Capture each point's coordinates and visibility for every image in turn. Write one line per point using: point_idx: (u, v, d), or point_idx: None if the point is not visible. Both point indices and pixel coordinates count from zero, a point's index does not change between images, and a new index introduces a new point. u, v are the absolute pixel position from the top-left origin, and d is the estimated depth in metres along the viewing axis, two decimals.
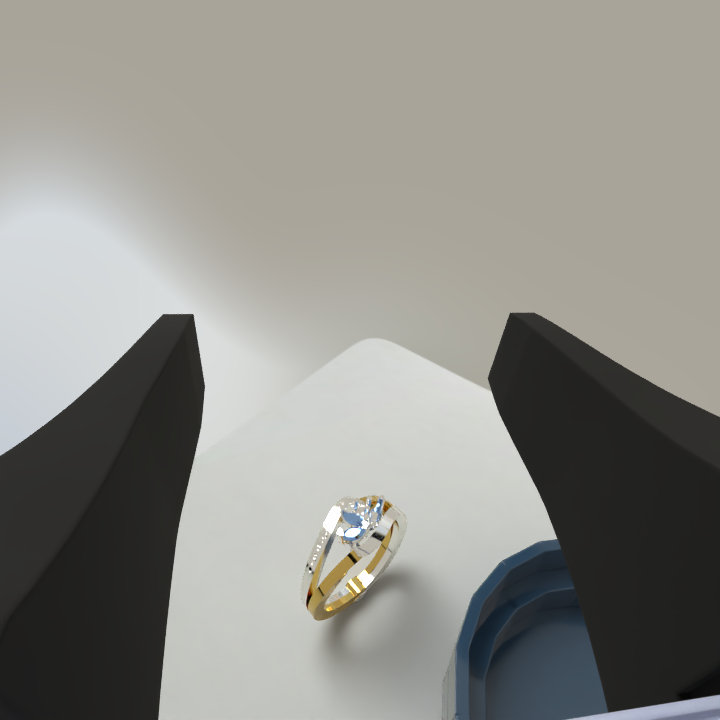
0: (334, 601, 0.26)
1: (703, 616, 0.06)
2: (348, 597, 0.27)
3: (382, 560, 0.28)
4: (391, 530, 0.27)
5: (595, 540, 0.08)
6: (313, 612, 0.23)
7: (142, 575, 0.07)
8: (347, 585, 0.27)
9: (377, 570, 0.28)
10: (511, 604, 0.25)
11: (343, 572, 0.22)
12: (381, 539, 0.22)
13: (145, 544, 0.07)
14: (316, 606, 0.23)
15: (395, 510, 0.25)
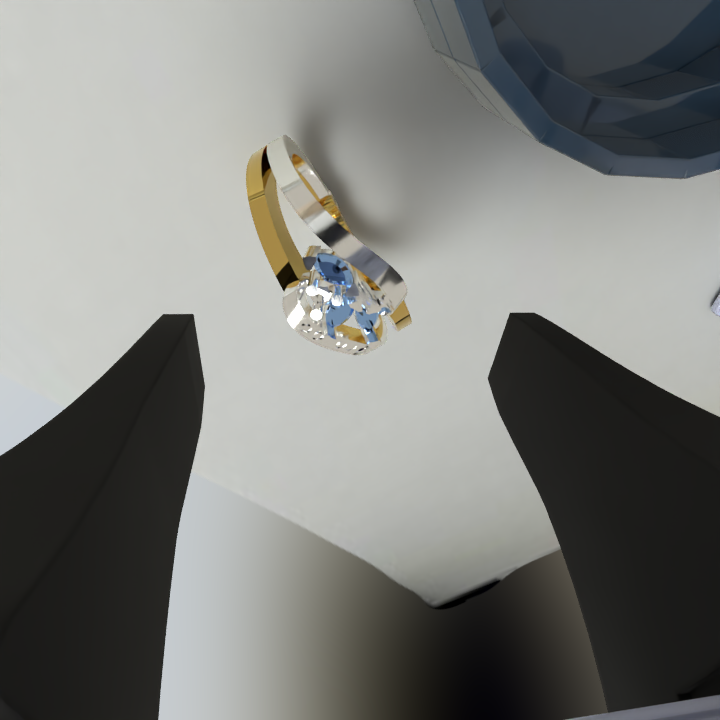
0: None
1: (703, 616, 0.06)
2: (341, 225, 0.18)
3: (300, 167, 0.16)
4: None
5: (595, 540, 0.08)
6: None
7: (142, 575, 0.07)
8: None
9: (310, 175, 0.16)
10: None
11: (407, 315, 0.14)
12: (392, 271, 0.12)
13: (145, 544, 0.07)
14: None
15: (313, 214, 0.11)
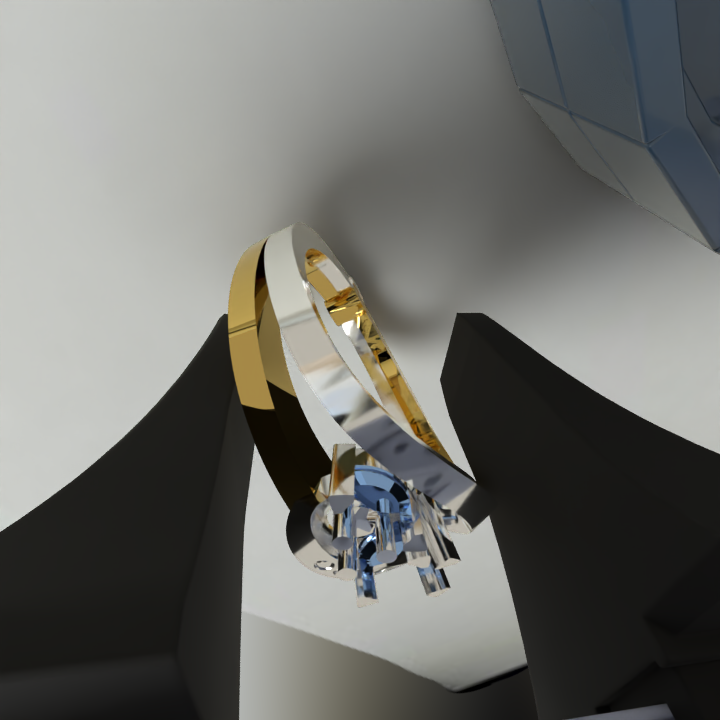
0: (375, 358, 0.13)
1: (616, 627, 0.06)
2: (366, 326, 0.13)
3: (313, 258, 0.10)
4: None
5: (528, 546, 0.08)
6: None
7: (231, 567, 0.07)
8: (341, 324, 0.12)
9: (327, 265, 0.11)
10: None
11: None
12: (480, 492, 0.07)
13: (232, 537, 0.07)
14: None
15: (348, 403, 0.06)
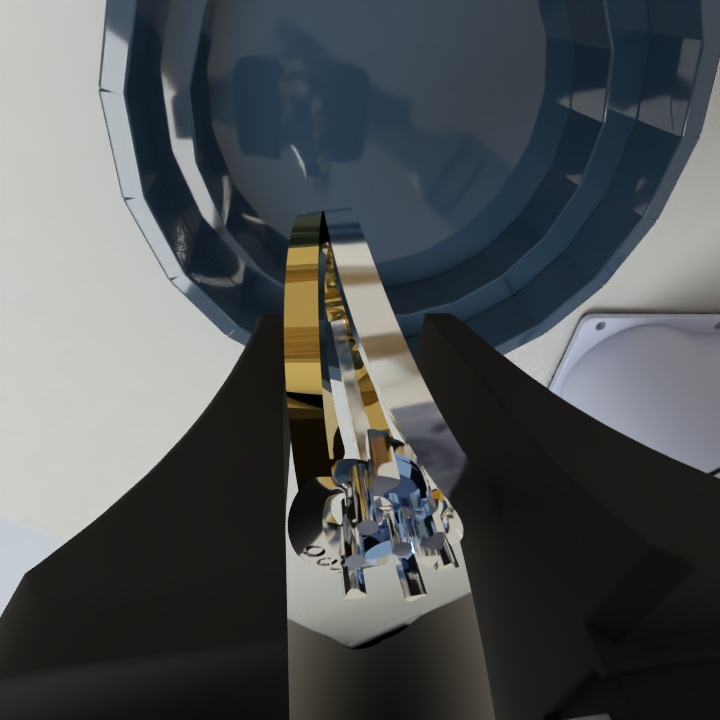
0: (353, 363, 0.13)
1: (561, 634, 0.06)
2: None
3: None
4: (326, 250, 0.08)
5: (487, 550, 0.08)
6: None
7: None
8: (331, 320, 0.12)
9: None
10: (216, 234, 0.16)
11: None
12: (488, 504, 0.07)
13: None
14: None
15: (404, 389, 0.06)
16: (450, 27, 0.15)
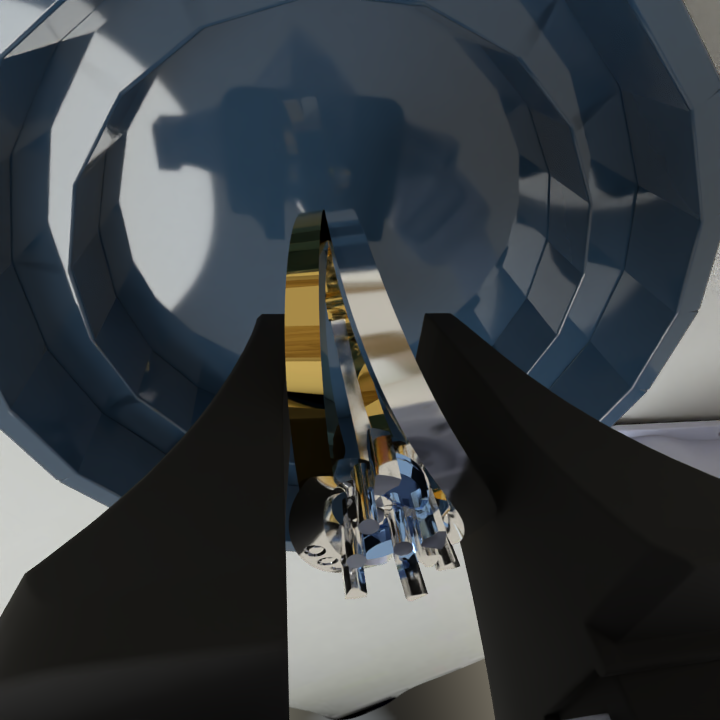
0: (353, 363, 0.13)
1: (562, 634, 0.06)
2: None
3: None
4: (327, 249, 0.08)
5: (487, 550, 0.08)
6: None
7: None
8: (331, 320, 0.12)
9: None
10: (127, 403, 0.13)
11: None
12: (489, 503, 0.07)
13: None
14: None
15: (405, 388, 0.06)
16: (398, 166, 0.12)
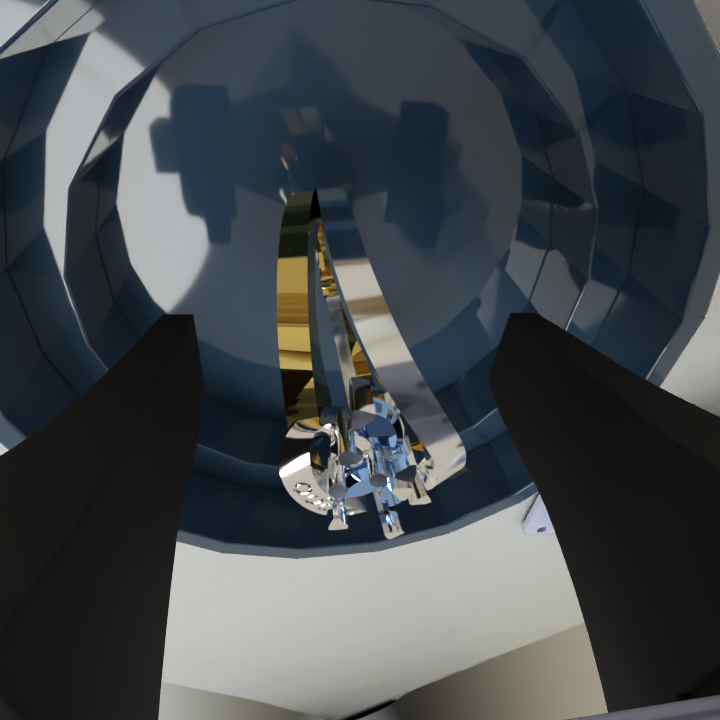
0: (347, 338, 0.14)
1: (703, 616, 0.06)
2: None
3: None
4: (318, 223, 0.09)
5: (595, 540, 0.08)
6: None
7: (142, 575, 0.07)
8: (326, 297, 0.13)
9: None
10: None
11: None
12: (459, 448, 0.08)
13: (145, 544, 0.07)
14: None
15: (382, 339, 0.07)
16: (400, 168, 0.12)
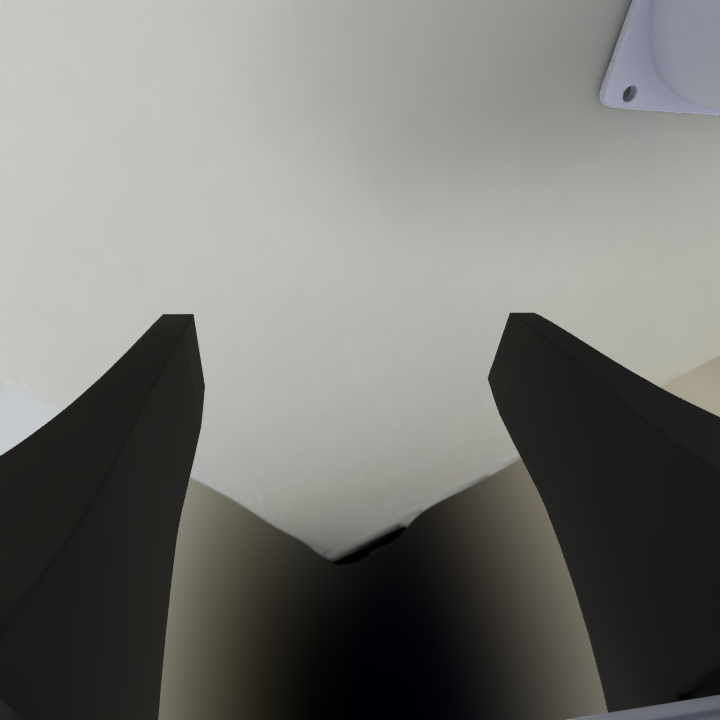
0: None
1: (703, 616, 0.06)
2: None
3: None
4: None
5: (595, 540, 0.08)
6: None
7: (142, 575, 0.07)
8: None
9: None
10: None
11: None
12: None
13: (145, 544, 0.07)
14: None
15: None
16: None
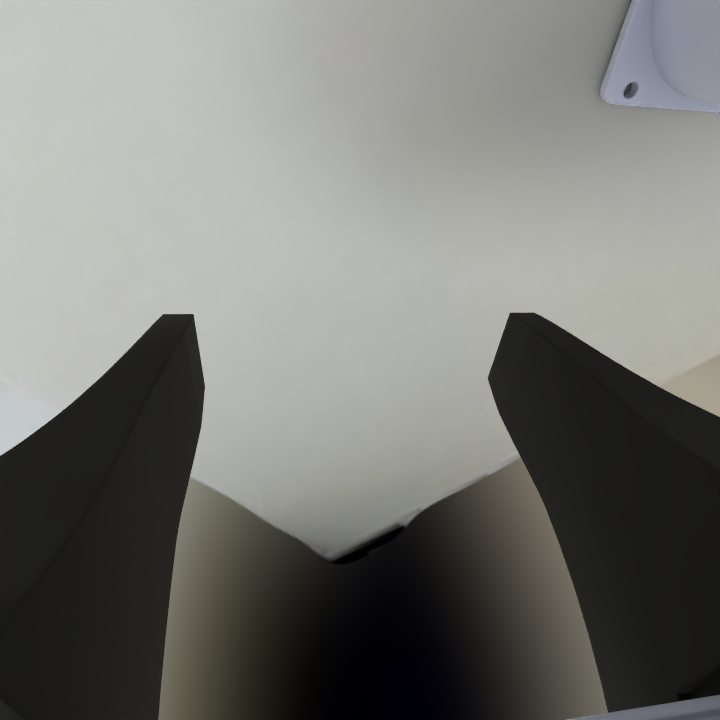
0: None
1: (703, 616, 0.06)
2: None
3: None
4: None
5: (595, 540, 0.08)
6: None
7: (142, 575, 0.07)
8: None
9: None
10: None
11: None
12: None
13: (145, 544, 0.07)
14: None
15: None
16: None
